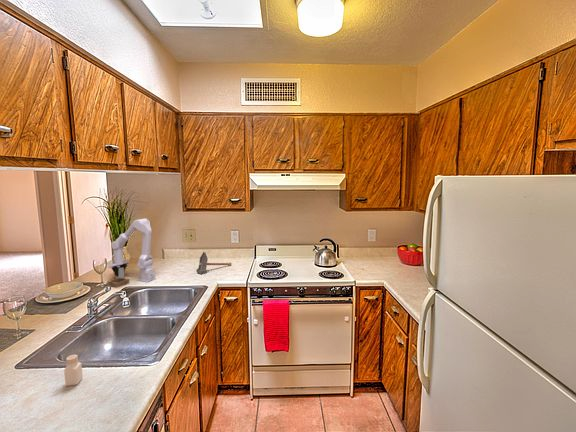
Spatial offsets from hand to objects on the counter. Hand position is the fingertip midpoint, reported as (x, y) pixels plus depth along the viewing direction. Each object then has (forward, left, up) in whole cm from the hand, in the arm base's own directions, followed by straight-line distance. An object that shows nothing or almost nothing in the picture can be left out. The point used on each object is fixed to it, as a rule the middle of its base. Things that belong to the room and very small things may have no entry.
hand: (119, 275), depth 212 cm
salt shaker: (-89, +81, -3) cm, 120 cm away
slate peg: (0, 0, -2) cm, 2 cm away
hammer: (-50, -46, -3) cm, 68 cm away
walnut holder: (-11, +9, -2) cm, 14 cm away
